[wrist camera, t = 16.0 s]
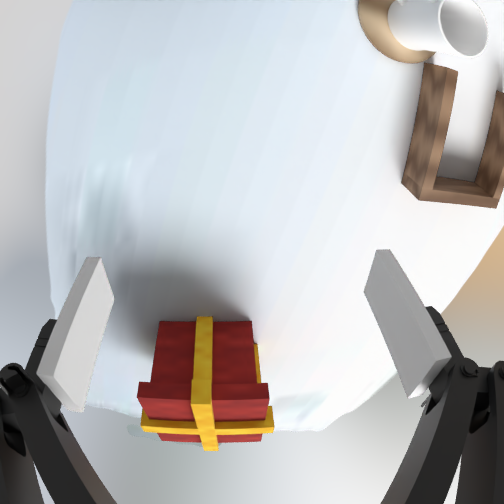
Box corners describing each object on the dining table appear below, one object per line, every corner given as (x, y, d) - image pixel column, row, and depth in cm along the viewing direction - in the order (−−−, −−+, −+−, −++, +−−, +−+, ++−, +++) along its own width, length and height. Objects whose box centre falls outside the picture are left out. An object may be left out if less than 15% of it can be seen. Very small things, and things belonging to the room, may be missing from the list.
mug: (358, 3, 30) (402, -7, 20) (392, -30, 26) (440, -44, 16) (415, 61, 35) (467, 74, 25) (445, 28, 31) (499, 35, 21)
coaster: (360, -36, 26) (362, -37, 26) (443, -7, 28) (446, -7, 27) (354, 51, 35) (356, 51, 34) (436, 72, 36) (439, 73, 35)
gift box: (162, 376, 75) (156, 448, 59) (142, 310, 60) (124, 400, 44) (260, 376, 77) (268, 449, 61) (268, 310, 62) (281, 402, 46)
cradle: (424, 62, 35) (447, 67, 30) (503, 93, 37) (525, 102, 32) (401, 183, 47) (418, 200, 42) (478, 192, 49) (496, 208, 44)
